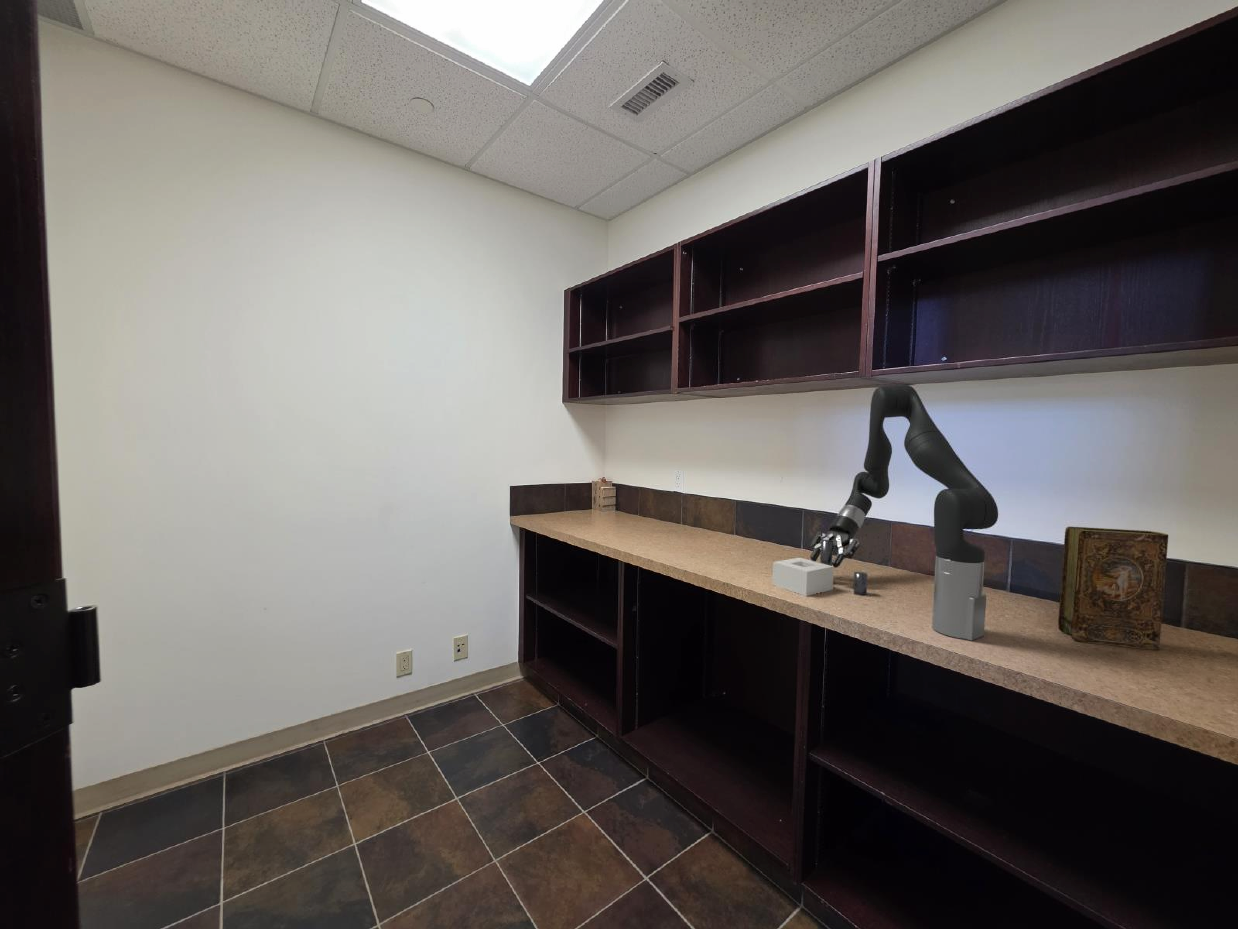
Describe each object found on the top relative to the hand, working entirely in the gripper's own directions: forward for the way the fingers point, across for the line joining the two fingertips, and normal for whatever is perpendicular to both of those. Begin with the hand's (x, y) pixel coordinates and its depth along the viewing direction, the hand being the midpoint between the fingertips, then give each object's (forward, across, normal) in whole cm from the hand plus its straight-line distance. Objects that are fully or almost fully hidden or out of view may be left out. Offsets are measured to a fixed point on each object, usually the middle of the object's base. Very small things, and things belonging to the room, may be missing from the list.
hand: (823, 563), depth 152 cm
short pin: (+4, +12, +5) cm, 14 cm away
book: (-8, +60, +18) cm, 63 cm away
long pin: (+3, 0, +6) cm, 6 cm away
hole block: (+11, 0, -2) cm, 11 cm away
